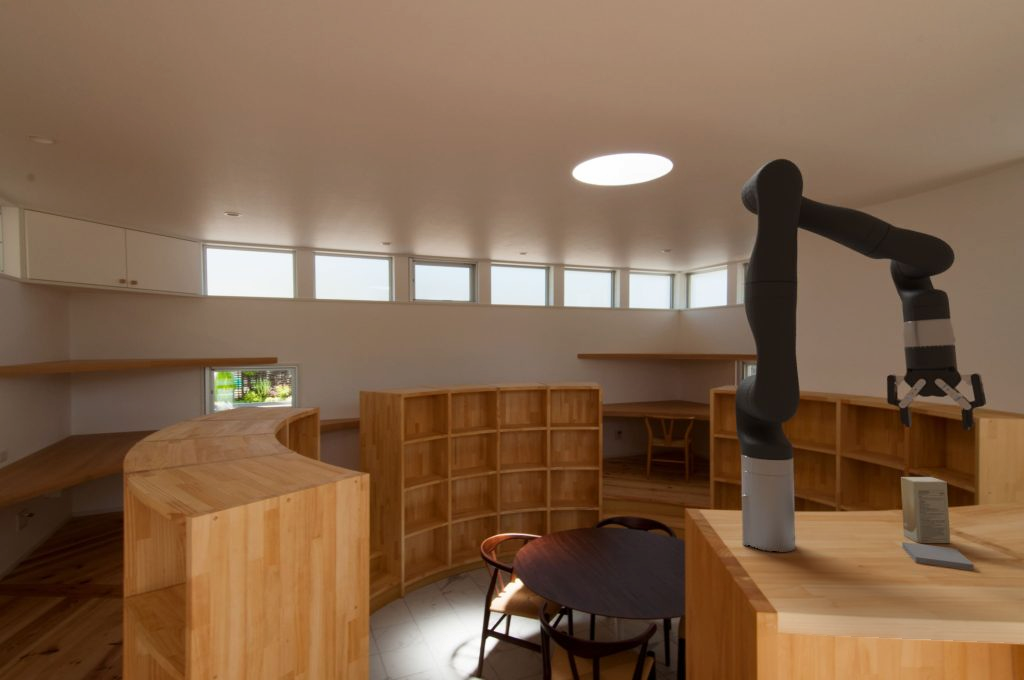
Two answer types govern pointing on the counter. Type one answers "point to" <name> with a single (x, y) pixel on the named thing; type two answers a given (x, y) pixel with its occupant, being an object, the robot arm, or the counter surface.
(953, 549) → the grey square slab
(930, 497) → the skincare box
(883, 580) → the counter surface
